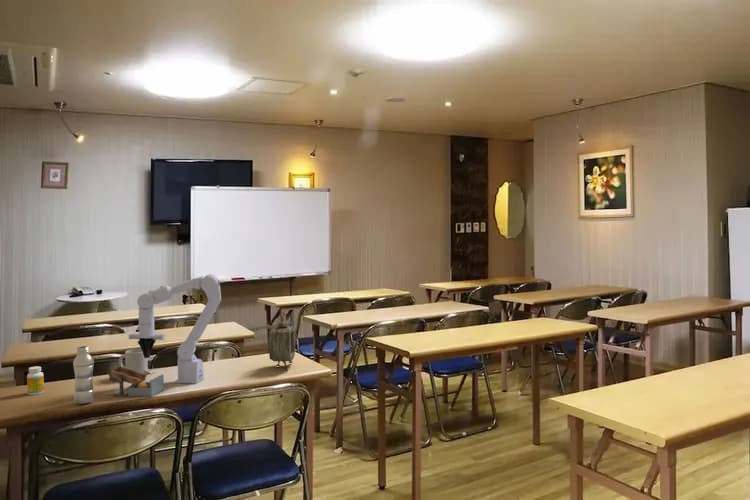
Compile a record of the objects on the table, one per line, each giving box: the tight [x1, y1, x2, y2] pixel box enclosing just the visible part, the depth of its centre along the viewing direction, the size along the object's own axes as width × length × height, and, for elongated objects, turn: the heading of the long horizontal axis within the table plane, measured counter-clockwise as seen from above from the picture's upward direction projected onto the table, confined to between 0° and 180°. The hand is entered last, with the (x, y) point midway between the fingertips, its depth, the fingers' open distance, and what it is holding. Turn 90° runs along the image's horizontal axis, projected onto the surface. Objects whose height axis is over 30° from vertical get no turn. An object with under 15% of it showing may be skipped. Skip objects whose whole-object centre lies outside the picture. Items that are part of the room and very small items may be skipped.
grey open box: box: [127, 374, 165, 398], centre depth 216 cm, size 9×9×6 cm
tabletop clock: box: [268, 310, 296, 370], centre depth 252 cm, size 14×9×25 cm, turn 179°
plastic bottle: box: [72, 345, 96, 405], centre depth 204 cm, size 6×7×20 cm
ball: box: [137, 381, 147, 388], centre depth 216 cm, size 4×4×4 cm
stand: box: [113, 378, 133, 398], centre depth 217 cm, size 5×11×7 cm, turn 172°
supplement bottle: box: [26, 365, 45, 396], centre depth 217 cm, size 5×5×10 cm
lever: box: [108, 366, 156, 385], centre depth 220 cm, size 11×13×4 cm
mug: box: [118, 348, 149, 378], centre depth 240 cm, size 12×8×11 cm
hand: (147, 357), depth 229 cm, fingers closed
